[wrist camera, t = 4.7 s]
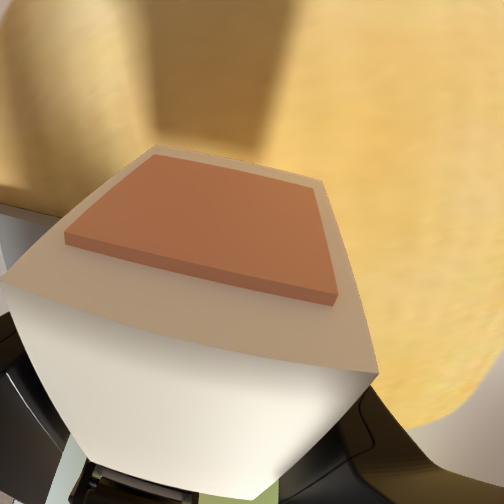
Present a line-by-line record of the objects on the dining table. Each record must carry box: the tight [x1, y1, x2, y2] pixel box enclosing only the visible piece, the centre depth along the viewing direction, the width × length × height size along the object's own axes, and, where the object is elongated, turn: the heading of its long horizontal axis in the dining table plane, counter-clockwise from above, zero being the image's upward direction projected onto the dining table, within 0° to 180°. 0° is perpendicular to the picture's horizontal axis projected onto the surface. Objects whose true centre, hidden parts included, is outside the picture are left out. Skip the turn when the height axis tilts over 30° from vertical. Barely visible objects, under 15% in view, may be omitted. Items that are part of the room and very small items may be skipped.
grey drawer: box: [0, 203, 62, 316], centre depth 16 cm, size 11×9×4 cm
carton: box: [0, 145, 379, 500], centre depth 7 cm, size 7×4×6 cm
